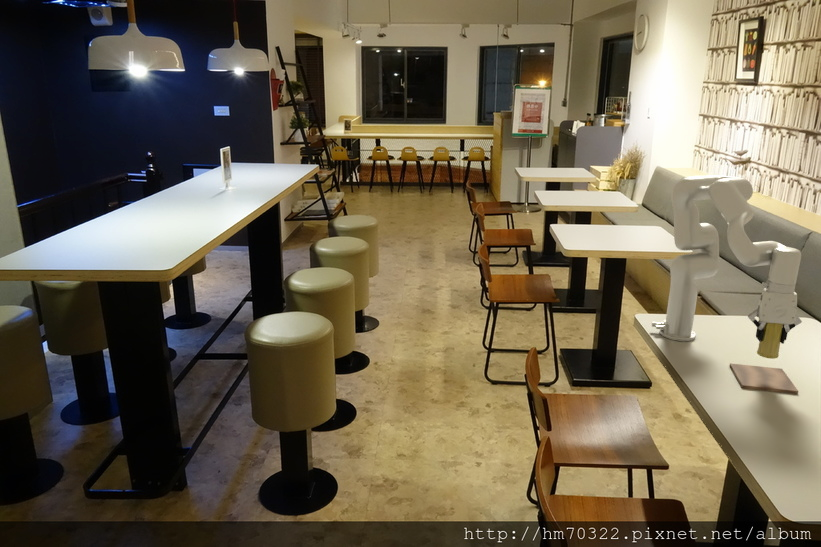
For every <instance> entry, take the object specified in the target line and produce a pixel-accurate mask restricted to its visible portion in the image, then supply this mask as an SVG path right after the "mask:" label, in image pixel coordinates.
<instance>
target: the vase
mask: <svg viewBox="0 0 821 547" xmlns="http://www.w3.org/2000/svg"><path fill="white" fill-rule="evenodd" d="M782 328H783V324H777V323H766V324H765V326H764V327H763V330H764V334H763V339H762V341H761V342H760V341H759V343H758V348H757V351H756V354H757V355H758V356H760V357H762V358H764V359H765V358H766V359H773V360H774V359H778V358H779V355H780V354H779V352H780V345H781V342H780V340H781V334H782Z"/></svg>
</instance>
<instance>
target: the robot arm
mask: <svg viewBox="0 0 821 547" xmlns="http://www.w3.org/2000/svg"><path fill="white" fill-rule="evenodd" d="M753 194H754V188H753V185H752V183H751V182H750V181H749V180H748V179H746V178H743V177H737V176H727V175H720V174H719V175H717V174H715V175H713V174H711V175H693V176H688V177H683V178H681V179H679V180H678V181H677V182H675V184H674V185H673V187H672V190H671V195H670V196H671V197H670V198H671V204H672V209H673V210H672V211H673V237H674V245H675V247H676V248H677V249H678V250H680V251H695V250H696V253H695V252H693V253H686V254H685V253H684V254H680V255H677V256H676V257H674V258H673V259H672V260H671V263H670V265H669V269H670V271H669V272H670V273H669V274H670V287H669V294H668V302H667V309H666V315H665V319H663V321H660V322H657V321H651V327H652V328H653V327H654V328H655V329H656V330H659V334H660V335H661V336H662V337H664V338H667V339H669V340H673V341H678V342H689V341H690V342H691V341H693V340H695V339H696V333H695V331H693V325H694V320H695V319H694V318H695V314H696V313H695V312H696V306H697V301H698V300H697V299H698V292H699V291H698V286H697V284H696V281H695V280H700V279H709V278H712V277H714V276H716V274H717V273H718V271H719V268H720V236H719V232H718V230H717V228H716V227H715V226H714V225H713V224H711V223H708V222H701V223H700V211H699V208H698V206H697V204H696V203H695V201H702V200H703V201H704V200H705V201H707V200H711V201H712V202H713V204H714V206H715V207H716V209H717V210H718V211H719V213H720V214H721V217H723V219H724V220H725V222H726V224H727V225H728V226H727V233H726V234H727V235H726V238H727V244H728V247H729V249H730V250H731V252H732V253H733V254H734V256H735V257H736V259H737V260H738V261H739V263H740V264H742V265H743V266H745V267H749V268H751V267H754V268H755V267H760V266H770V267H769V272H768V276H767V279H766V281H762V283H761V286H762V287H765V288H763V290H762V292H761V295H760V297H759V300H758V304H757V307H756V309H755V310H753V311H752V312H751V313H749V314H748V315H747V319H749V320H750V321H751V322H752V323H753V324H754V325H755V326H756V332H755V337H756V339H757V340H758V341H759V342H761V341H762V339H763V334H764V330H763V327H764V326H765V324H766V323H777V324H783V328H782V334H781V340H780V344H785V341H787V338H788V333H789V332H790V331H791V330H792V329H794V328H795V327H797V326H798V325H799V324H802V322H803V321H802V320H801V318H800V317H799V315H797V309H798V294H797V292H795V288H796V284H797V279H798V274H799V271H800V270H799V269H800V265H801V259H802V251H801V250H799V249H798V248H794V247H790V246H786V245H784V244H782V243H781V242H778V241H774V240H768V241H767V240H766V241H756V242H752V241H751V239H750V238H749V236H748V235H747V233H746V231H745V228H744V227H745V225H746V224H748V223H749V222H750V221H751V220H752V219H753V217H754V215H755V211H754V210H753V208H752V207H751V205H750V204H749V202H748V201H749V200H750V199H751V198H752V196H753ZM756 317H757V318H758V320H757V319H756Z"/></svg>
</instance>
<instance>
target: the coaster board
mask: <svg viewBox="0 0 821 547" xmlns="http://www.w3.org/2000/svg"><path fill="white" fill-rule="evenodd" d="M729 368H730V369H731V372H732V373H733V375H734V376H735V378H736V380H737V382H738V384H739V385H740V388H741V389H747V390H757V391H764V392H775V393H783V394H785V393H786V394H793V395H798V394H799V390H798V388H797V387H796V386H795V384H794V383H793V382H792V380H791V379H790V378H789V376H788V375H787V373H786V372H785V371H784V369H783V368H779V367H768V366H760V365H749V364H741V363H739V364H738V363H730V362H729Z"/></svg>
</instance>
